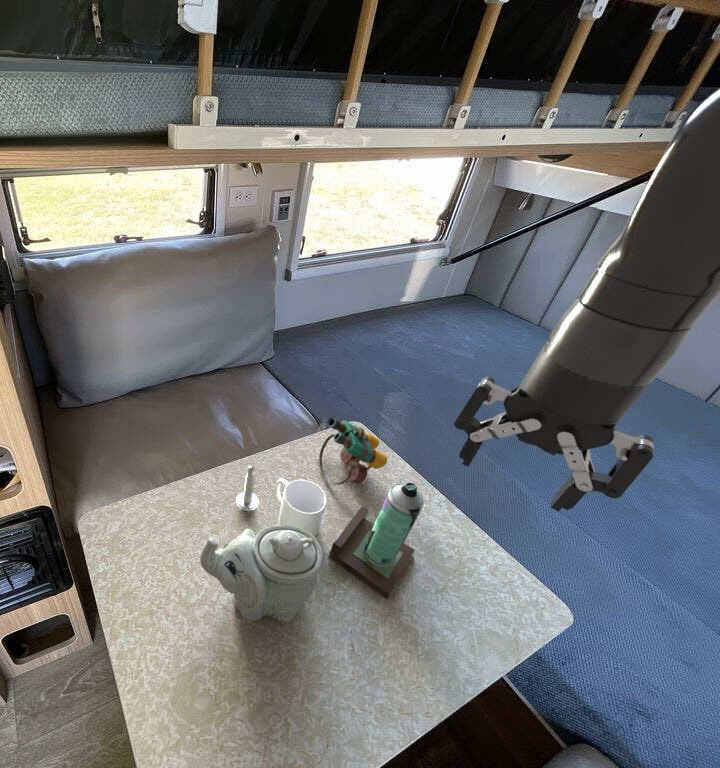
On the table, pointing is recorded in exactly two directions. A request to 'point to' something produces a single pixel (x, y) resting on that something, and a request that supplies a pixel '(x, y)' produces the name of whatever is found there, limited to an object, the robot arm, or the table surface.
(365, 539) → the brown wooden square frame
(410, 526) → the spray can
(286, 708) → the table surface
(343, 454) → the binoculars
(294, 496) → the cup
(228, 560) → the teapot
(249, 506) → the screw
